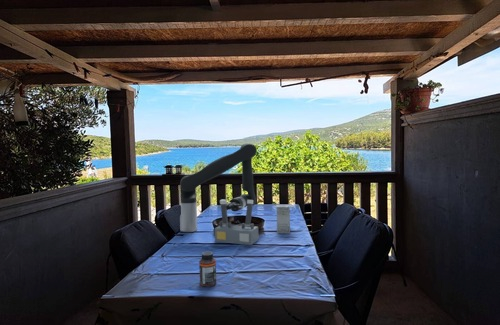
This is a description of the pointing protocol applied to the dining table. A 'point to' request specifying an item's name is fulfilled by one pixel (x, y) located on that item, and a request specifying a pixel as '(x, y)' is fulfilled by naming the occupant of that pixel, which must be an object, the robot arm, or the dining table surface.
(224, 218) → the lever with pale knob
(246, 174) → the robot arm
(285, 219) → the circuit breaker
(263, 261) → the dining table surface
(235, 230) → the switch box
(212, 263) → the supplement bottle
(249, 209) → the lever grey
